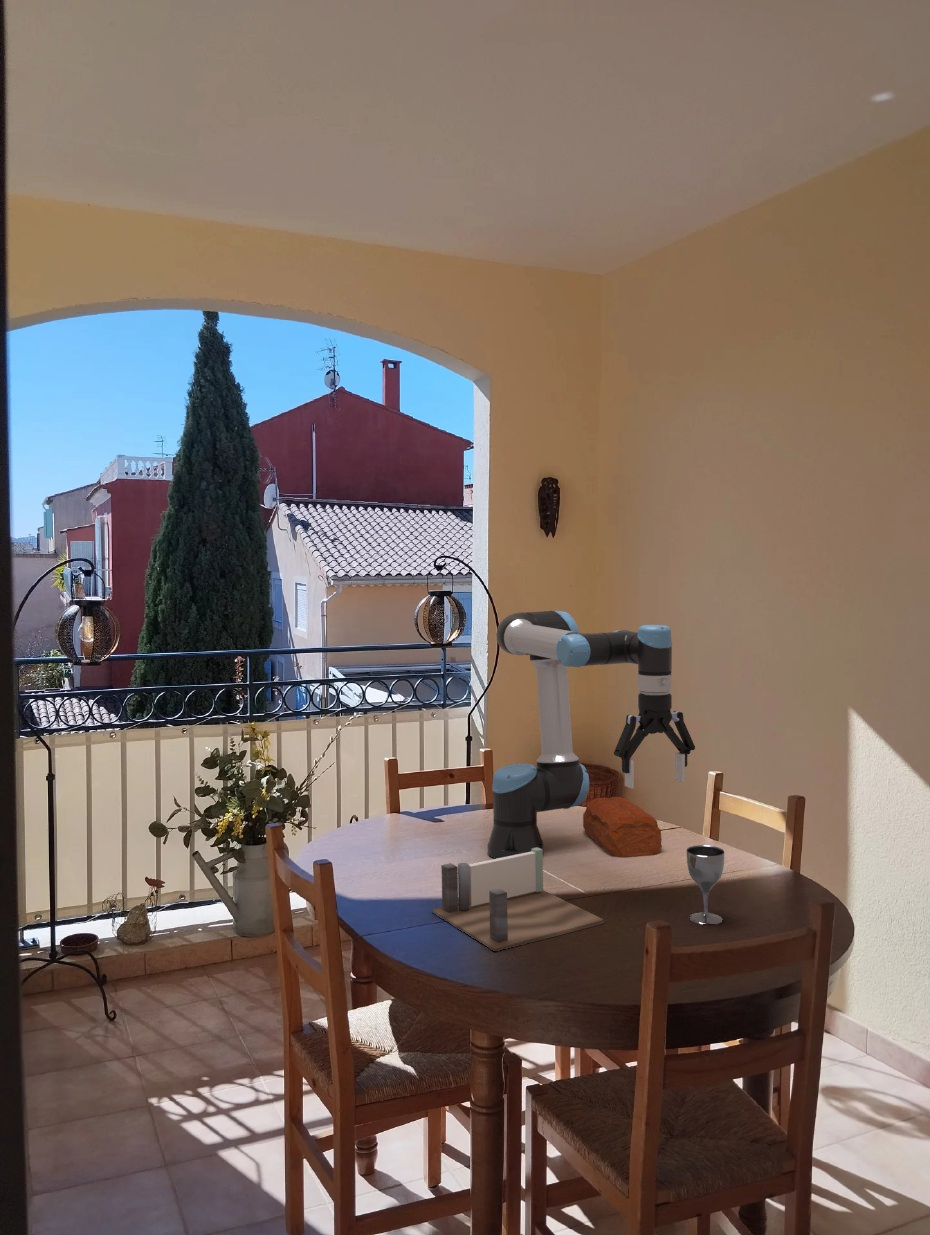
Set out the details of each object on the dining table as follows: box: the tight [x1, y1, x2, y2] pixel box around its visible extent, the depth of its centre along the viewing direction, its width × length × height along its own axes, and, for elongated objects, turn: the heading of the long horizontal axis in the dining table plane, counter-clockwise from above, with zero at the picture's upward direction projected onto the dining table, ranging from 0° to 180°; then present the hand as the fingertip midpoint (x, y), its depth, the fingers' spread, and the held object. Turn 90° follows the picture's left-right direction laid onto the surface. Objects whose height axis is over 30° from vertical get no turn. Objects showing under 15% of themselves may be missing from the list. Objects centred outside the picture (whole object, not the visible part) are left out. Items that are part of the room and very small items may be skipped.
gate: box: [457, 847, 544, 911], centre depth 217 cm, size 22×2×10 cm, turn 121°
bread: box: [582, 796, 663, 858], centre depth 264 cm, size 16×27×11 cm, turn 11°
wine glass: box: [686, 844, 725, 925], centre depth 206 cm, size 8×8×15 cm
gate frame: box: [431, 862, 605, 952], centre depth 209 cm, size 26×28×11 cm
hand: (654, 784), depth 219 cm, fingers open, 13 cm apart
